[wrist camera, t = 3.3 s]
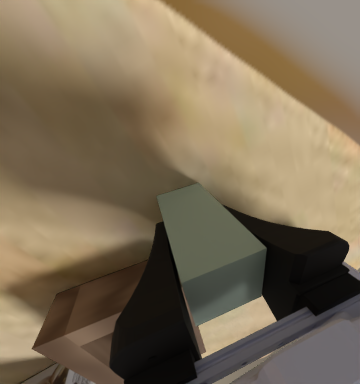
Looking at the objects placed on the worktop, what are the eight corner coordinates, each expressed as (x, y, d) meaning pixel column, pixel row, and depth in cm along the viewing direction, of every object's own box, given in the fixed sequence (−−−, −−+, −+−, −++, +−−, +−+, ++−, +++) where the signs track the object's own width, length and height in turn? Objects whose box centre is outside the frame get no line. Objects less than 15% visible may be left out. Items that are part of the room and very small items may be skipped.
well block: (173, 250, 16) (184, 285, 13) (195, 317, 24) (206, 351, 20) (56, 293, 14) (31, 348, 11) (120, 351, 22) (117, 395, 18)
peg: (198, 182, 13) (266, 247, 6) (204, 217, 15) (261, 296, 8) (156, 196, 13) (181, 283, 6) (167, 229, 15) (195, 326, 8)
